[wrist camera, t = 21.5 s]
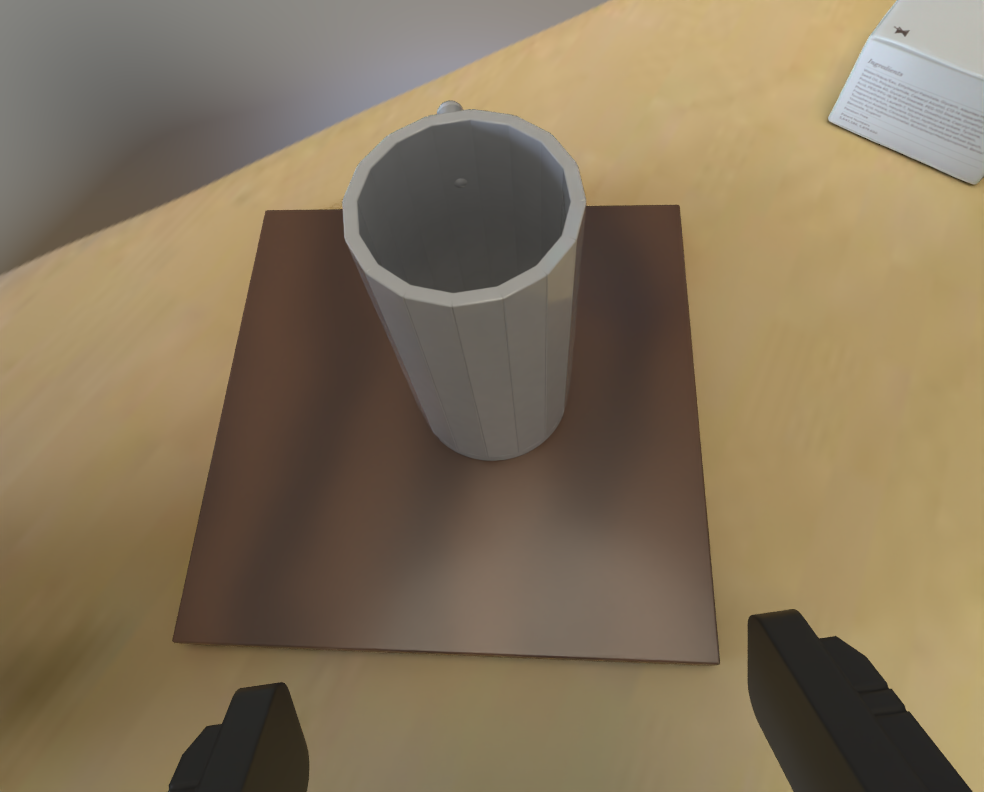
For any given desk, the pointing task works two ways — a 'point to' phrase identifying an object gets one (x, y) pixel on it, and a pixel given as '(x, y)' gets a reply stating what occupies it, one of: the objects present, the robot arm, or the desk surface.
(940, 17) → the small box
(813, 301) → the desk surface
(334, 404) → the walnut board
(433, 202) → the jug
